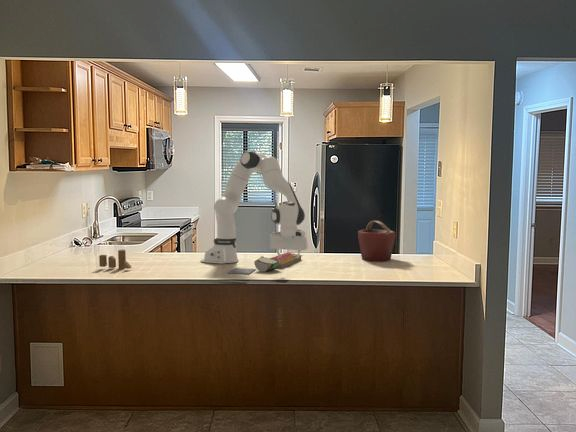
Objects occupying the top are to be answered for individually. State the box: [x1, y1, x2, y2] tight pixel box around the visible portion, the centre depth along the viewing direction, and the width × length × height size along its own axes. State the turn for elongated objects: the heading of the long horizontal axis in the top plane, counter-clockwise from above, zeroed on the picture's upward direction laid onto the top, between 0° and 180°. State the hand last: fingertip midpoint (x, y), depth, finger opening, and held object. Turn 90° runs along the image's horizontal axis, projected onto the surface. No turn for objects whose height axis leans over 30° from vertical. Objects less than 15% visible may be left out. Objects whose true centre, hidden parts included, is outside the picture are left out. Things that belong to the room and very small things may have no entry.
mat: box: [227, 267, 257, 276], centre depth 300 cm, size 12×14×1 cm
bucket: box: [357, 220, 396, 263], centre depth 339 cm, size 24×22×25 cm
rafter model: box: [270, 251, 304, 270], centre depth 327 cm, size 35×14×6 cm, turn 159°
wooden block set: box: [98, 249, 132, 270], centre depth 304 cm, size 18×9×10 cm, turn 84°
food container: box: [253, 255, 280, 273], centre depth 304 cm, size 12×6×10 cm
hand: (288, 257), depth 294 cm, fingers open, 8 cm apart
